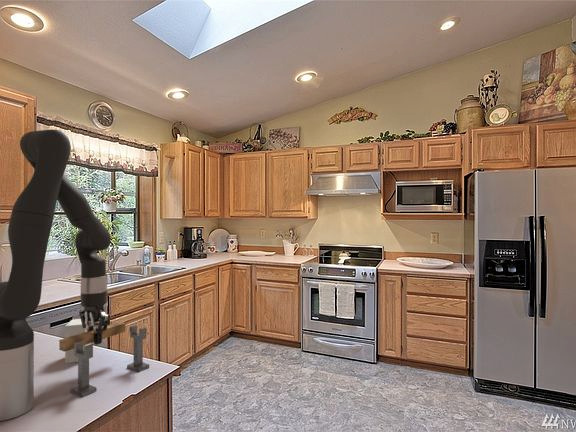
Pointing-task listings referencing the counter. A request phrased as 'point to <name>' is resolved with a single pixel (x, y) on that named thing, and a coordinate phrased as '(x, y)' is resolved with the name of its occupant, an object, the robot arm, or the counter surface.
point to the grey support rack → (85, 355)
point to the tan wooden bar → (90, 336)
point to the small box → (70, 330)
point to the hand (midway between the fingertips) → (94, 342)
